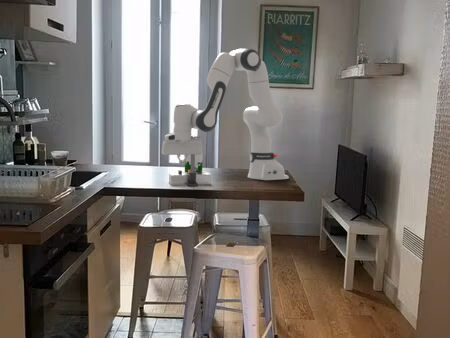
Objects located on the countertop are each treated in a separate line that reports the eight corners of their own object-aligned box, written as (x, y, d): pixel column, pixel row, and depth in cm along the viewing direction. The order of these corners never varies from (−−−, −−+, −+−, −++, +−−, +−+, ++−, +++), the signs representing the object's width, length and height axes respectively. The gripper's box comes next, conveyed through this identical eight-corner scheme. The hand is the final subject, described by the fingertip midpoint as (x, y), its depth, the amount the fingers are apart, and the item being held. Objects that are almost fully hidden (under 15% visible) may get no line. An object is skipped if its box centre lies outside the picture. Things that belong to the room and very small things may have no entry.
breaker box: (207, 181, 259) (207, 168, 258) (210, 184, 251) (211, 171, 250) (168, 182, 253) (169, 169, 252) (171, 185, 246) (171, 172, 245)
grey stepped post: (196, 184, 249) (196, 153, 246) (198, 186, 244) (199, 155, 241) (186, 185, 247) (186, 153, 245) (188, 186, 242) (188, 155, 240)
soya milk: (187, 178, 268) (187, 141, 266) (203, 178, 267) (204, 141, 264) (182, 180, 260) (183, 142, 257) (199, 181, 258) (200, 143, 255)
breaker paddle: (190, 172, 253) (190, 169, 253) (191, 173, 250) (191, 170, 250) (188, 172, 253) (188, 169, 252) (189, 173, 250) (189, 170, 250)
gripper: (201, 135, 253) (201, 162, 255) (161, 135, 248) (161, 163, 250) (204, 136, 247) (203, 164, 249) (163, 136, 242) (163, 164, 244)
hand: (182, 163), depth 250 cm, fingers closed
